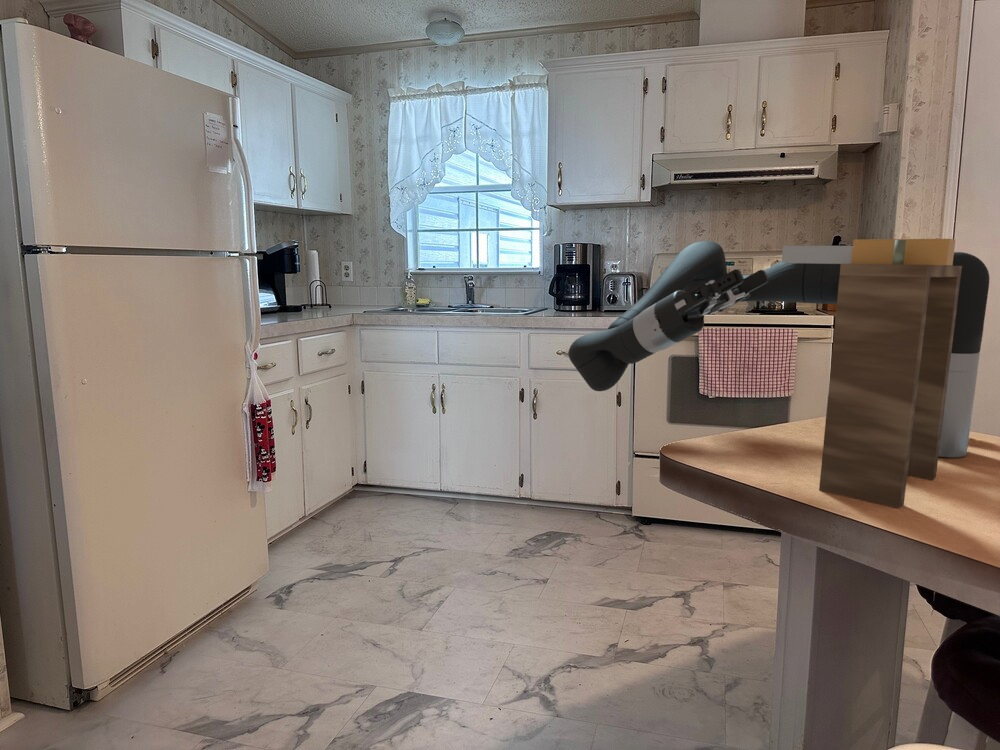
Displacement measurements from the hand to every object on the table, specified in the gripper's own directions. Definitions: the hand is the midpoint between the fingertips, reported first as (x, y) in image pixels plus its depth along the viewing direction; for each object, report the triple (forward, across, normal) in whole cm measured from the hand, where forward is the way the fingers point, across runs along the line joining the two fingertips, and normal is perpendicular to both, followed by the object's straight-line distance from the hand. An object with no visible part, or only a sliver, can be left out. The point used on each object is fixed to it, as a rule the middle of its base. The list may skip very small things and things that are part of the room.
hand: (753, 275), depth 103 cm
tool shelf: (+1, -6, -34) cm, 35 cm away
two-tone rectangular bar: (+14, 0, -6) cm, 15 cm away
